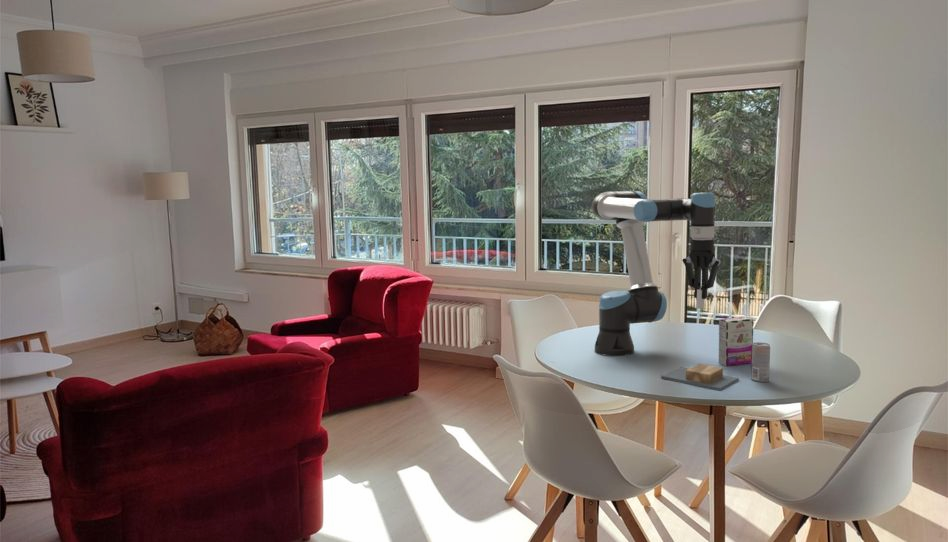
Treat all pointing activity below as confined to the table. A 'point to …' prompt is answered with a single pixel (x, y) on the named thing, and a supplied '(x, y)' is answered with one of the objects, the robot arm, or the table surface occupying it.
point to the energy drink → (760, 362)
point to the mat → (717, 385)
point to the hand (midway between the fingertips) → (700, 307)
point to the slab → (704, 373)
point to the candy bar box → (735, 341)
